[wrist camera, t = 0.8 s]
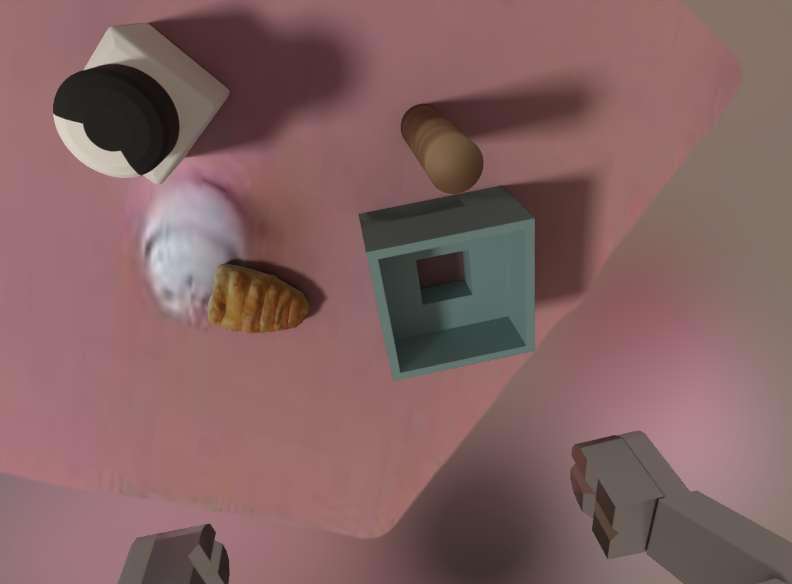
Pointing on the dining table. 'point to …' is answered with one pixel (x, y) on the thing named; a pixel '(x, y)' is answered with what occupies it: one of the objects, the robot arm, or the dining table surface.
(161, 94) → the medicine bottle
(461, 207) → the box
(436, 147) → the peg
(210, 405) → the dining table surface
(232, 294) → the pastry
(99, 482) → the dining table surface
